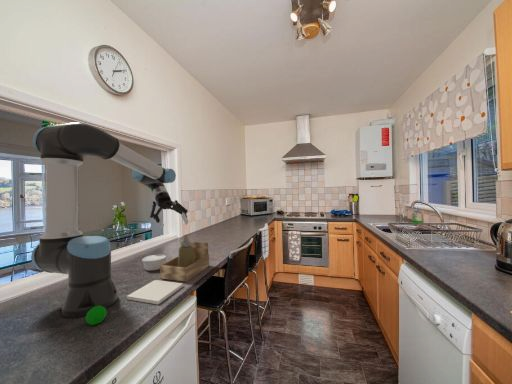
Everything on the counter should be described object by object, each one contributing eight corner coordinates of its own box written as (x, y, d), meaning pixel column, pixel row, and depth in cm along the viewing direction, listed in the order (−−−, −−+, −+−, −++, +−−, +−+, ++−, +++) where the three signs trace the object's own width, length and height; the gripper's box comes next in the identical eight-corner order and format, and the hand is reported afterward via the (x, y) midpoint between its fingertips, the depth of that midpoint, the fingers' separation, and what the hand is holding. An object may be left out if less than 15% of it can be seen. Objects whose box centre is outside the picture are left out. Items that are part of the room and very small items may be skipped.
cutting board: (126, 299, 75) (126, 296, 75) (155, 282, 89) (155, 279, 89) (158, 304, 71) (158, 301, 71) (183, 286, 85) (182, 283, 85)
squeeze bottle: (174, 273, 99) (173, 235, 99) (186, 267, 106) (186, 232, 106) (186, 276, 95) (185, 237, 95) (198, 270, 102) (197, 234, 102)
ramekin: (170, 263, 112) (170, 254, 112) (158, 272, 101) (158, 261, 101) (151, 263, 113) (150, 254, 113) (137, 271, 102) (137, 260, 102)
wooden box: (159, 278, 93) (159, 252, 92) (186, 263, 112) (186, 241, 112) (186, 282, 89) (185, 254, 89) (209, 265, 108) (208, 242, 108)
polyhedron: (110, 317, 64) (110, 302, 64) (98, 328, 60) (98, 311, 59) (94, 318, 64) (93, 303, 64) (81, 328, 59) (80, 312, 59)
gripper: (179, 199, 128) (193, 225, 119) (136, 201, 109) (148, 233, 100) (184, 191, 125) (198, 217, 115) (139, 191, 106) (152, 223, 96)
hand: (175, 224), depth 107 cm, fingers open, 13 cm apart
